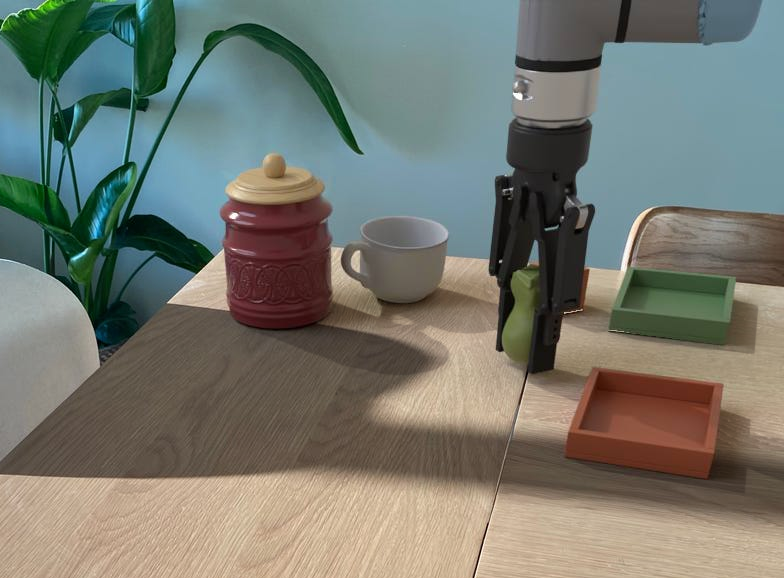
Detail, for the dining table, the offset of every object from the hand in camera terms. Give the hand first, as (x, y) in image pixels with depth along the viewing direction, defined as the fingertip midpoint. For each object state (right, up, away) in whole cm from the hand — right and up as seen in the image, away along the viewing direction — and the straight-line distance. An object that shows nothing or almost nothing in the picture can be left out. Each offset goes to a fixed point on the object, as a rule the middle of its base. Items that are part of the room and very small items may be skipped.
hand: (523, 359), depth 104 cm
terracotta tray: (+9, -10, -10) cm, 17 cm away
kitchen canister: (-26, +10, +15) cm, 32 cm away
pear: (0, 0, 0) cm, 1 cm away
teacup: (-13, +13, +18) cm, 25 cm away
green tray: (+20, +8, +11) cm, 24 cm away
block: (+7, +10, +14) cm, 18 cm away
